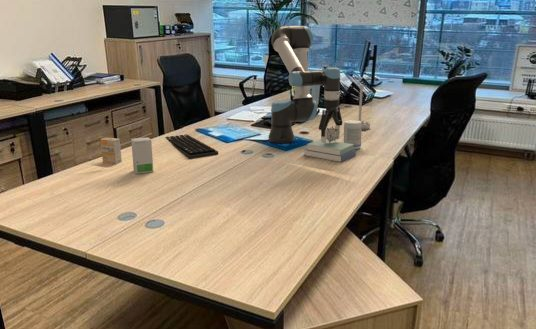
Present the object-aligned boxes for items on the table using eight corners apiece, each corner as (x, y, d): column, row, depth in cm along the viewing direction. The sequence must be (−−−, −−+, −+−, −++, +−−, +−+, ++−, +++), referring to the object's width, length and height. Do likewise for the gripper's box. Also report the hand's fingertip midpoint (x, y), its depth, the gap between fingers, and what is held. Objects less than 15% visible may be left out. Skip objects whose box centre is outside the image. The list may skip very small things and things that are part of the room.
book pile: (303, 155, 234) (304, 144, 232) (319, 149, 246) (319, 138, 244) (341, 162, 221) (341, 150, 219) (355, 155, 233) (356, 144, 231)
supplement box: (102, 164, 220) (99, 139, 217) (109, 162, 225) (106, 137, 221) (116, 166, 218) (113, 140, 214) (122, 163, 222) (119, 138, 218)
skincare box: (136, 174, 205) (132, 141, 201) (133, 170, 211) (130, 138, 206) (154, 171, 209) (151, 139, 204) (151, 168, 215) (148, 136, 210)
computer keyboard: (162, 142, 264) (162, 136, 263) (188, 139, 272) (187, 133, 271) (189, 161, 227) (189, 153, 226) (218, 156, 235) (218, 149, 234)
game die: (340, 146, 233) (343, 128, 235) (335, 141, 226) (338, 123, 228) (323, 145, 237) (327, 127, 239) (318, 140, 230) (322, 122, 232)
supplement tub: (364, 148, 247) (365, 122, 243) (351, 150, 242) (353, 124, 238) (352, 144, 255) (353, 119, 250) (339, 147, 250) (340, 121, 245)
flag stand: (371, 132, 283) (374, 85, 275) (350, 132, 284) (353, 85, 275) (367, 128, 296) (369, 82, 287) (347, 128, 296) (349, 83, 287)
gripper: (325, 102, 213) (324, 145, 219) (350, 96, 232) (348, 136, 238) (312, 101, 218) (311, 143, 224) (337, 95, 237) (335, 134, 243)
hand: (330, 140), depth 231 cm, fingers open, 13 cm apart
